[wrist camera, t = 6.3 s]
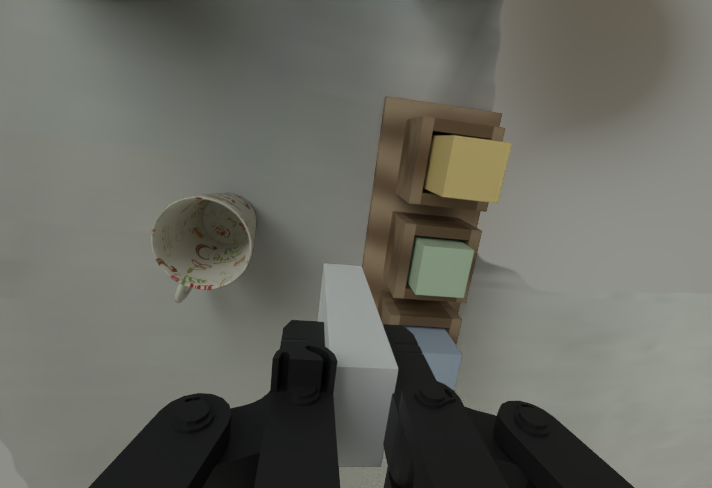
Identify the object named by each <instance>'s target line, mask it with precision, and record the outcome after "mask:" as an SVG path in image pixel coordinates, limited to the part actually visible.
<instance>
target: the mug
mask: <svg viewBox="0 0 712 488" xmlns="http://www.w3.org/2000/svg"><path fill="white" fill-rule="evenodd" d="M255 232H256V215H255V212H254V210H253V208H252V206H251V205H250V204H249V203H248V202H247V201H246V200H245V199H244V198H242V197H240V196H238V195H235V194H231V193H219V194H208V195H197V196H190V197H185V198H182V199H179V200H177V201H175V202H173V203H171V204H170V205H168V206H167V207H166V208H165V209H164V210H163V211H162V212H161V213H160V214H159V216H158V217H157V219H156V221H155V223H154V225H153V228H152V233H151V246H152V251H153V254H154V256H155V259H156V261H157V263H158V264H159V266H160V267H161V268H162V270H163V271H164V272H165V273H166V274H167V275H168V276H170V277H171V278H172V279H174V280H175V281H177V282H178V283H179V285H178V288H177V290H176V293H175V297H174V299H175V302H176V303H180V302H182V301H183V300H184V299H185V298H186V297H187V295H188V294H189V293H190V291H191V290H192V288H195V289H205V290H207V289H216V288H220V287H223V286H226V285H228V284H230V283H232V282H233V281H235V280H236V279H237V278H239V277H240V276H241V275H242V274H243V272H244V271H245V270H246V268H247V267H248V265H249V263H250V260H251V257H252V253H253V247H254V239H255Z"/></svg>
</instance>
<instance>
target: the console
mask: <svg viewBox="0 0 712 488" xmlns="http://www.w3.org/2000/svg"><path fill="white" fill-rule="evenodd" d="M501 117H502V114H501V113H495V112H488V111H482V110H475V109H468V108H461V107H455V106H448V105H441V104H435V103H428V102H421V101H415V100H408V99H401V98H395V97H388V96H386V97H385V103H384V111H383V118H382V125H381V133H380V140H379V147H378V155H377V162H376V169H375V177H374V184H373V191H372V199H371V206H370V213H369V221H368V228H367V235H366V242H365V250H364V257H363V264H362V269H363V271H364V274H365V277H366V280H367V283H368V285H369V288H370V291H371V294H372V297H373V299H374V302H375V305H376V308H377V310H378V313H379V316H380V319H381V322H382V324H389V325H408V326H425V327H442V328H444V329H445V330H446V331H447V333H448V334H449V336H450V337H451V339H452V340H453V342H454V343H455V345H456V343H457V339H458V335H459V330H460V326H461V321H462V319H461V318H460V317H459V315H458V310H459V306H460V302H461V303H466V299H467V295H468V291H469V286H470V282H471V277H472V273H473V269H474V264H475V260H476V255H477V251H478V247H479V242H480V238H481V233H482V231H481V230H479V229H477V224H478V220H479V216H480V211H487V207H488V203H489V202H483V201H474V200H466V199H457V198H448V197H442V196H439V195H437V194H435V193H433V192H431V191H429V190H427V189H424V188H423V184H424V178H425V173H426V167H427V161H428V156H429V150H430V144H431V138H432V136H442V135H456V136H463V137H471V138H478V139H485V140H492V141H500V142H502V141H503V136H504V132H505V128H501V127H499V125H500V121H501ZM415 235H418V236H429V237H439V238H450V239H459V240H460V241H462V242H463V243H465V244H466V245H467V246H469V247H470V248H472V249H473V250H474V254H473V259H472V263H471V268H470V272H469V276H468V281H467V285H466V290H465V294H464V298H456V297H442V296H428V295H415V293H414V292H413V290H412V289H411V287H410V285H409V284H408V282H407V276H408V270H409V264H410V259H411V253H412V247H413V241H414V236H415Z"/></svg>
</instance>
